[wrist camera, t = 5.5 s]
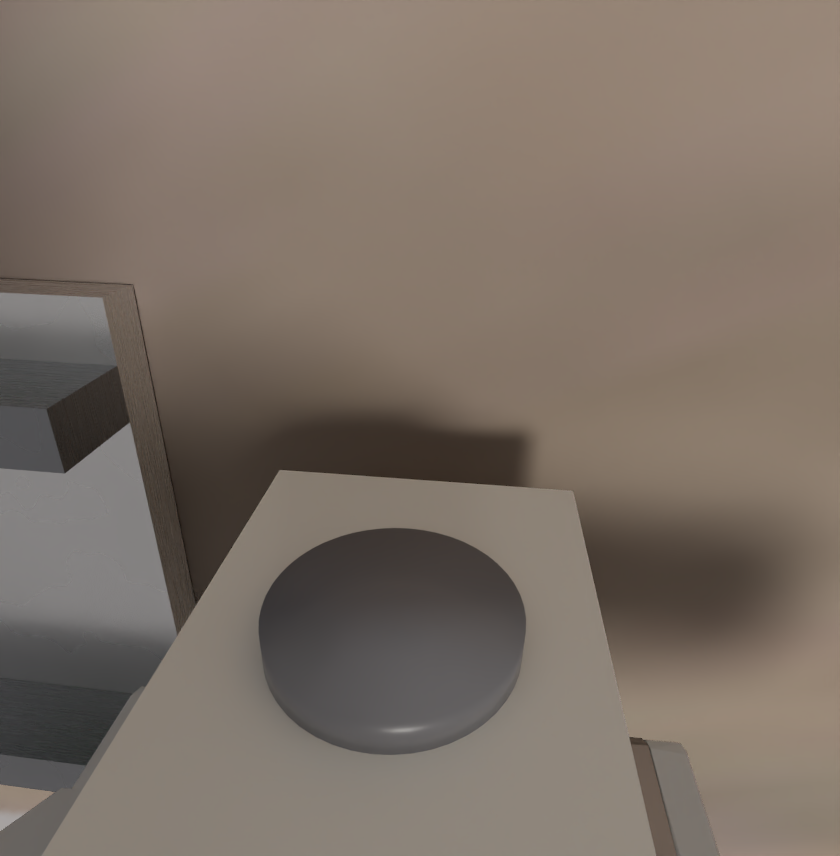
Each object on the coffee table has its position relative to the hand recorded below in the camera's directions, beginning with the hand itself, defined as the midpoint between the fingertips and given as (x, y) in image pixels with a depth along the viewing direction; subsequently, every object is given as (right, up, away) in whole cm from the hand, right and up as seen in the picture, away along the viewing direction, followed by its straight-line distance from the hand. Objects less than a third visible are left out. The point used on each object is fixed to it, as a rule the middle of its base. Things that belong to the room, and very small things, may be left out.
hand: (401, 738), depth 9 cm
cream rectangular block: (0, +1, +2) cm, 3 cm away
